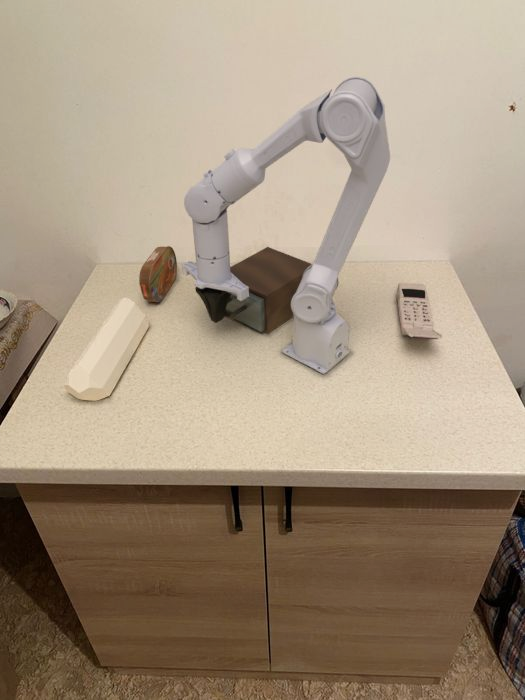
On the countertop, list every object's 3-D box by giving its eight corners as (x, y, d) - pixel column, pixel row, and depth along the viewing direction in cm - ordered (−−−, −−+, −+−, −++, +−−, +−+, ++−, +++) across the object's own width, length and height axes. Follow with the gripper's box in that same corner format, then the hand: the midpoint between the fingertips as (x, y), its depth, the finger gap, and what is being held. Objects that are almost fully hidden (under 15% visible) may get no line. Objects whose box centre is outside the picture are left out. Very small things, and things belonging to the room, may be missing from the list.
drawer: (243, 344, 92) (242, 313, 88) (201, 321, 98) (197, 291, 94) (305, 302, 103) (306, 272, 98) (263, 283, 109) (262, 255, 104)
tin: (155, 310, 103) (149, 274, 98) (141, 308, 104) (134, 272, 99) (179, 273, 115) (175, 239, 110) (166, 272, 115) (161, 238, 110)
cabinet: (267, 334, 96) (266, 296, 90) (221, 310, 102) (217, 273, 97) (314, 302, 104) (315, 265, 99) (268, 282, 111) (267, 246, 106)
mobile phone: (407, 335, 85) (398, 262, 104) (401, 362, 89) (394, 287, 108) (444, 338, 84) (428, 264, 103) (436, 365, 88) (423, 289, 107)
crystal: (104, 302, 98) (44, 385, 80) (131, 289, 95) (75, 371, 77) (128, 330, 102) (76, 415, 84) (155, 318, 99) (107, 403, 80)
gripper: (165, 247, 86) (174, 314, 94) (226, 274, 78) (230, 344, 86) (196, 234, 90) (202, 299, 98) (256, 258, 82) (257, 326, 91)
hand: (217, 319), depth 93 cm, fingers closed, pressing on drawer
